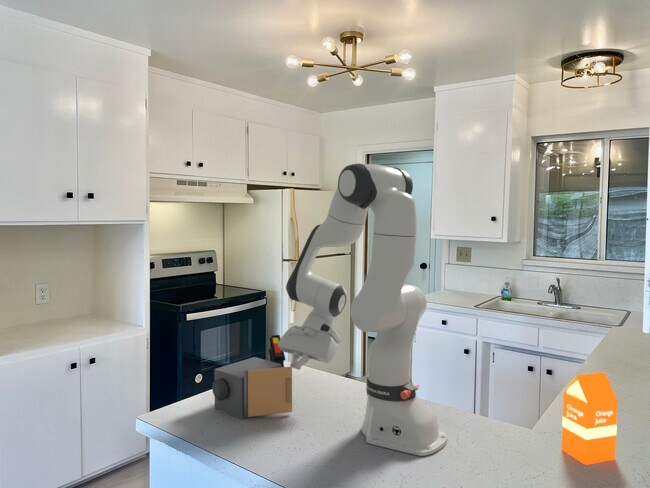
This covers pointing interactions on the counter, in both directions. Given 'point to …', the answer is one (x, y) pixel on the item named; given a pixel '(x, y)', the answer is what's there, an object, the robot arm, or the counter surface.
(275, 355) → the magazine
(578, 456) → the orange juice
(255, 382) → the side door
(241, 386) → the camera box
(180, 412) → the counter surface
